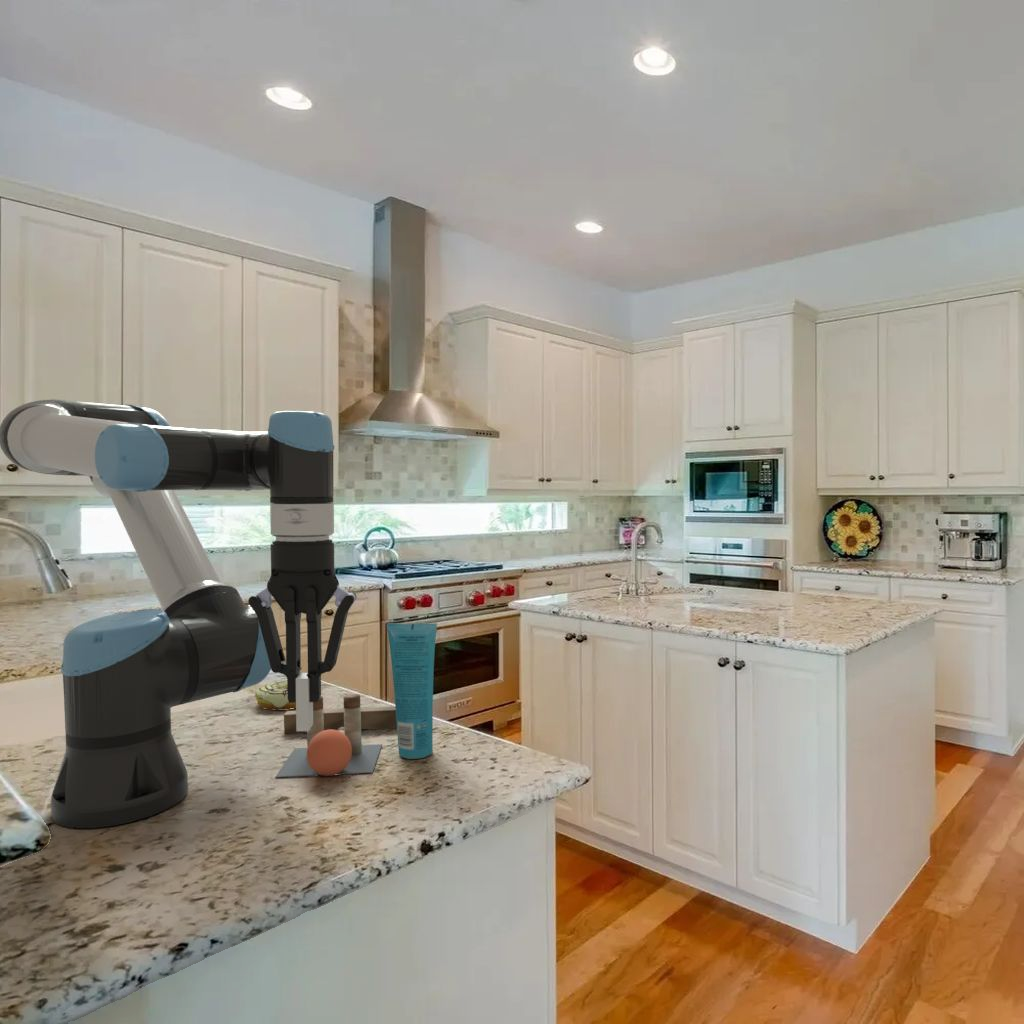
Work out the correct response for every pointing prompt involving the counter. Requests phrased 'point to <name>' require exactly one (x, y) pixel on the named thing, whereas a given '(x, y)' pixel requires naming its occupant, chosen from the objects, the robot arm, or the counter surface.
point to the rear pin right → (316, 720)
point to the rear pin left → (353, 722)
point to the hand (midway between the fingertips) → (304, 727)
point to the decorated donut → (274, 696)
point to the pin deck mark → (357, 764)
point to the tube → (413, 686)
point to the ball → (329, 752)
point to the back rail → (335, 719)
